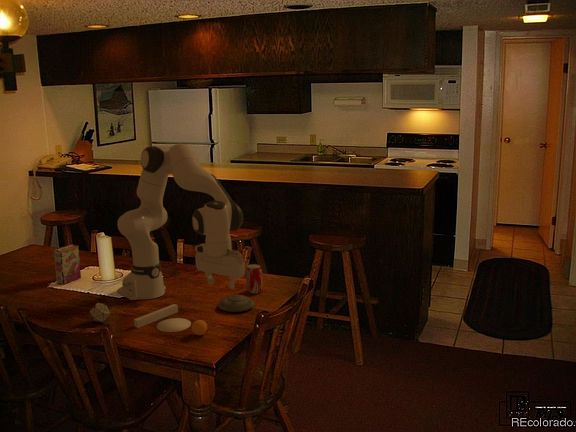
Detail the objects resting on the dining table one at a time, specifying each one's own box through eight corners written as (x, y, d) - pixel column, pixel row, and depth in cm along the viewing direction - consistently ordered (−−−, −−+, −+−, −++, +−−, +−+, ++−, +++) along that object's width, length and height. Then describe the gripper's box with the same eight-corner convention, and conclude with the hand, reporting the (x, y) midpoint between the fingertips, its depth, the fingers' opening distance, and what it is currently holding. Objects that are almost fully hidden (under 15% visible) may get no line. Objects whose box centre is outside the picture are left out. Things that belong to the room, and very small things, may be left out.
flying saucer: (241, 317, 233) (241, 304, 232) (210, 310, 240) (210, 298, 239) (261, 304, 246) (261, 292, 245) (231, 299, 253) (231, 287, 252)
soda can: (260, 295, 256) (259, 268, 254) (244, 294, 258) (243, 268, 255) (264, 289, 263) (263, 263, 260) (249, 288, 264) (248, 263, 262)
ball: (189, 335, 216) (188, 321, 215) (200, 330, 221) (199, 316, 219) (199, 339, 213) (198, 324, 212) (210, 334, 217) (210, 319, 216)
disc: (149, 326, 225) (149, 326, 225) (175, 316, 235) (175, 315, 235) (171, 335, 217) (171, 334, 217) (198, 323, 227) (197, 323, 227)
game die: (98, 329, 232) (91, 306, 235) (118, 321, 232) (111, 298, 235) (88, 327, 223) (81, 303, 226) (108, 319, 223) (102, 294, 226)
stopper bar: (134, 326, 225) (134, 319, 224) (174, 310, 240) (174, 303, 239) (137, 328, 224) (137, 320, 223) (178, 311, 239) (177, 304, 238)
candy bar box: (64, 285, 273) (60, 251, 269) (56, 283, 275) (52, 250, 271) (82, 278, 282) (78, 245, 279) (74, 276, 285) (71, 244, 281)
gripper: (247, 249, 201) (249, 287, 204) (203, 242, 213) (206, 278, 216) (235, 254, 196) (238, 293, 199) (191, 246, 208) (194, 283, 211)
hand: (221, 285), depth 207 cm, fingers open, 8 cm apart
